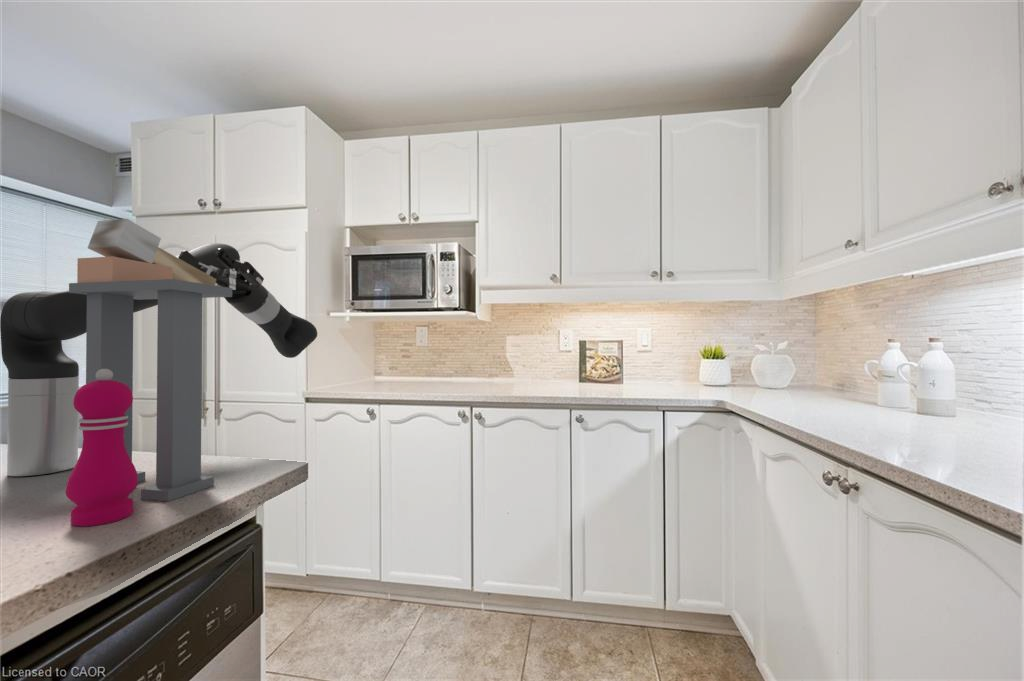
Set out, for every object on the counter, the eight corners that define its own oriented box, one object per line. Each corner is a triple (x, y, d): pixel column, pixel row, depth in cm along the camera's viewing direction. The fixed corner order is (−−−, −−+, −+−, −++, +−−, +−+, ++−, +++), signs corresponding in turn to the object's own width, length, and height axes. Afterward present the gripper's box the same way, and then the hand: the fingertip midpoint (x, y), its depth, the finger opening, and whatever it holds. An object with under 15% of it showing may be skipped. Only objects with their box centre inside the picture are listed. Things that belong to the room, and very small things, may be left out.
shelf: (66, 492, 72) (69, 283, 73) (137, 473, 83) (138, 291, 84) (170, 501, 68) (172, 279, 69) (231, 480, 79) (232, 288, 79)
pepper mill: (95, 530, 57) (96, 370, 58) (50, 526, 59) (51, 369, 59) (151, 510, 65) (152, 367, 65) (109, 506, 66) (111, 367, 66)
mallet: (87, 248, 74) (97, 221, 76) (192, 298, 93) (199, 275, 94) (116, 246, 73) (127, 218, 74) (217, 297, 91) (224, 274, 93)
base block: (77, 283, 73) (77, 258, 73) (140, 290, 83) (140, 268, 83) (112, 282, 72) (112, 256, 72) (172, 289, 81) (172, 267, 81)
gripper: (233, 288, 108) (178, 240, 94) (286, 286, 105) (237, 236, 91) (220, 315, 104) (160, 269, 90) (274, 313, 101) (221, 266, 87)
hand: (199, 252), depth 91 cm, fingers open, 8 cm apart
